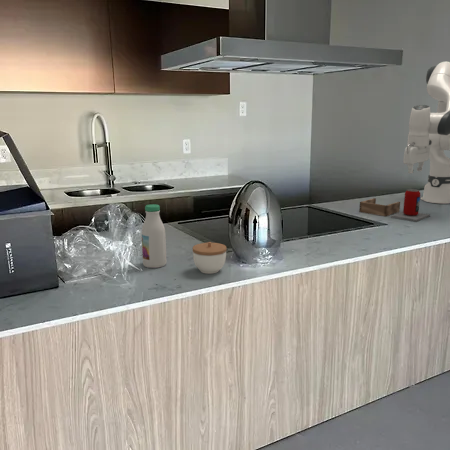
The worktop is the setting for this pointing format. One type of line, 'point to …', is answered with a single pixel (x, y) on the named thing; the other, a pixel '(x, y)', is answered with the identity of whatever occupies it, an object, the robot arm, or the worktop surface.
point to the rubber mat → (410, 218)
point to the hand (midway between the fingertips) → (415, 172)
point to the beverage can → (411, 202)
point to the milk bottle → (153, 238)
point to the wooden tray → (378, 208)
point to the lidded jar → (209, 257)
